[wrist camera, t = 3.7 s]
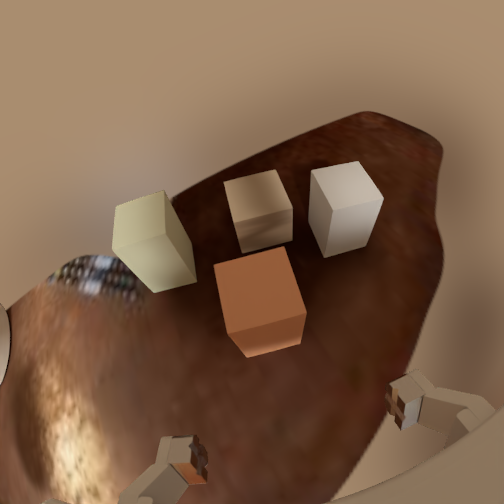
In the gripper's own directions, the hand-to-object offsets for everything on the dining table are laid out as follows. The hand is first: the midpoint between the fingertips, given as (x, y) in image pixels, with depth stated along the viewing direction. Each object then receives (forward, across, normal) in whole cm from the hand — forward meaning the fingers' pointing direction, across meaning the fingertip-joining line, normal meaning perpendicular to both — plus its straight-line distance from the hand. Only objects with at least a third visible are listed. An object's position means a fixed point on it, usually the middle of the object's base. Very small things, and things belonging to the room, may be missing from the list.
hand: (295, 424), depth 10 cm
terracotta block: (+13, 0, +2) cm, 13 cm away
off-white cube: (+20, -2, -5) cm, 21 cm away
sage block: (+19, +8, -4) cm, 21 cm away
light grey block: (+18, -9, -3) cm, 20 cm away
